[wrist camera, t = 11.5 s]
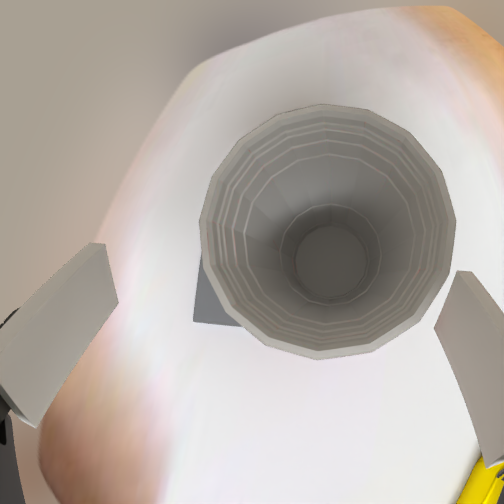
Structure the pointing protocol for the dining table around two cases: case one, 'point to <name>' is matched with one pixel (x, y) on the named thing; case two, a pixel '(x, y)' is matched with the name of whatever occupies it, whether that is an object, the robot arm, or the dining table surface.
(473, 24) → the dining table surface
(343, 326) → the plastic cup
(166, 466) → the dining table surface
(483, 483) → the element tile
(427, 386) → the dining table surface
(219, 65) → the dining table surface
